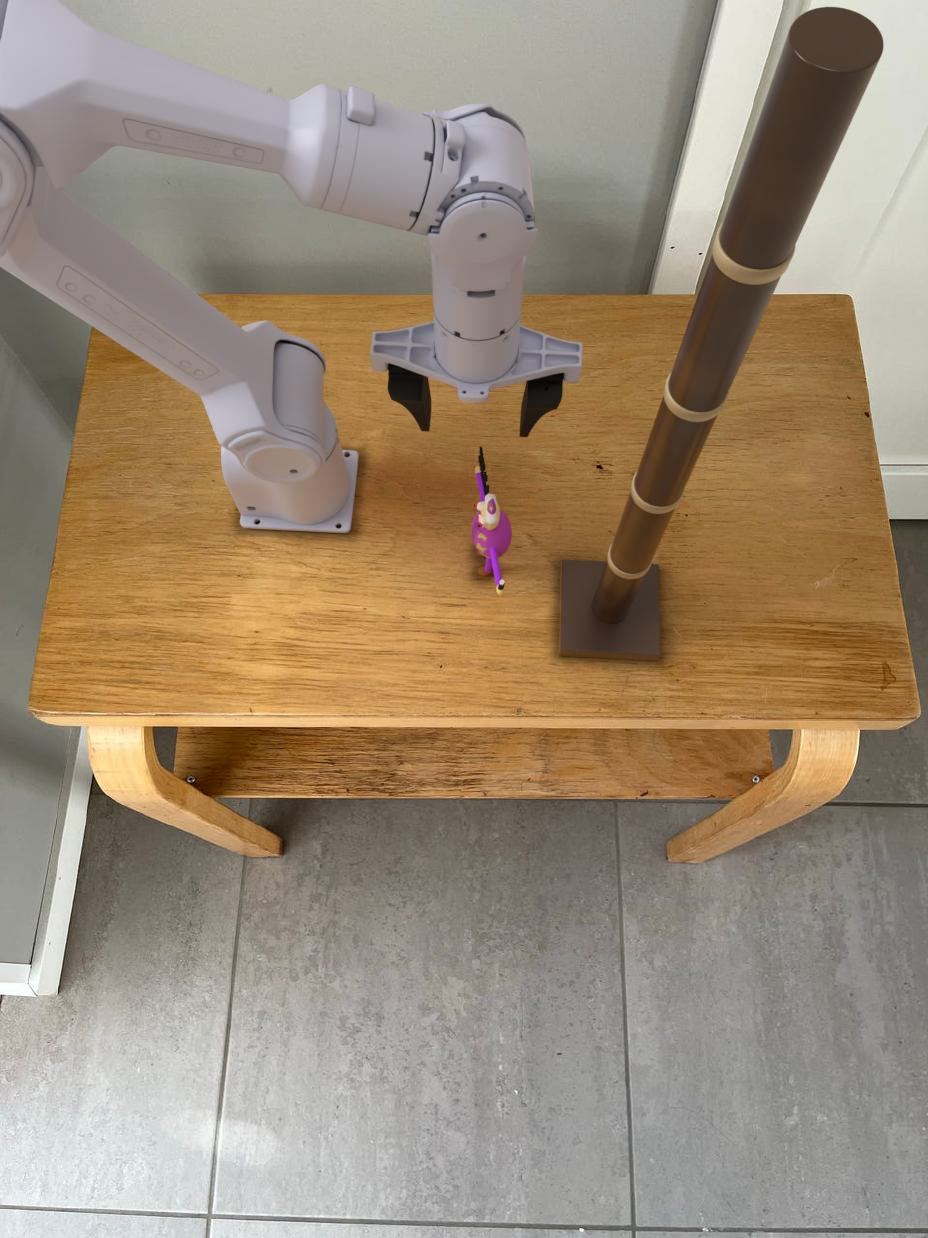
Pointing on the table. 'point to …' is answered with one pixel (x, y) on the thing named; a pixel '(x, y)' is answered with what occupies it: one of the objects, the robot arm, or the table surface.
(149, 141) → the robot arm
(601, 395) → the table surface
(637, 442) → the table surface
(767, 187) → the measuring staff
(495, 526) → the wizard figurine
